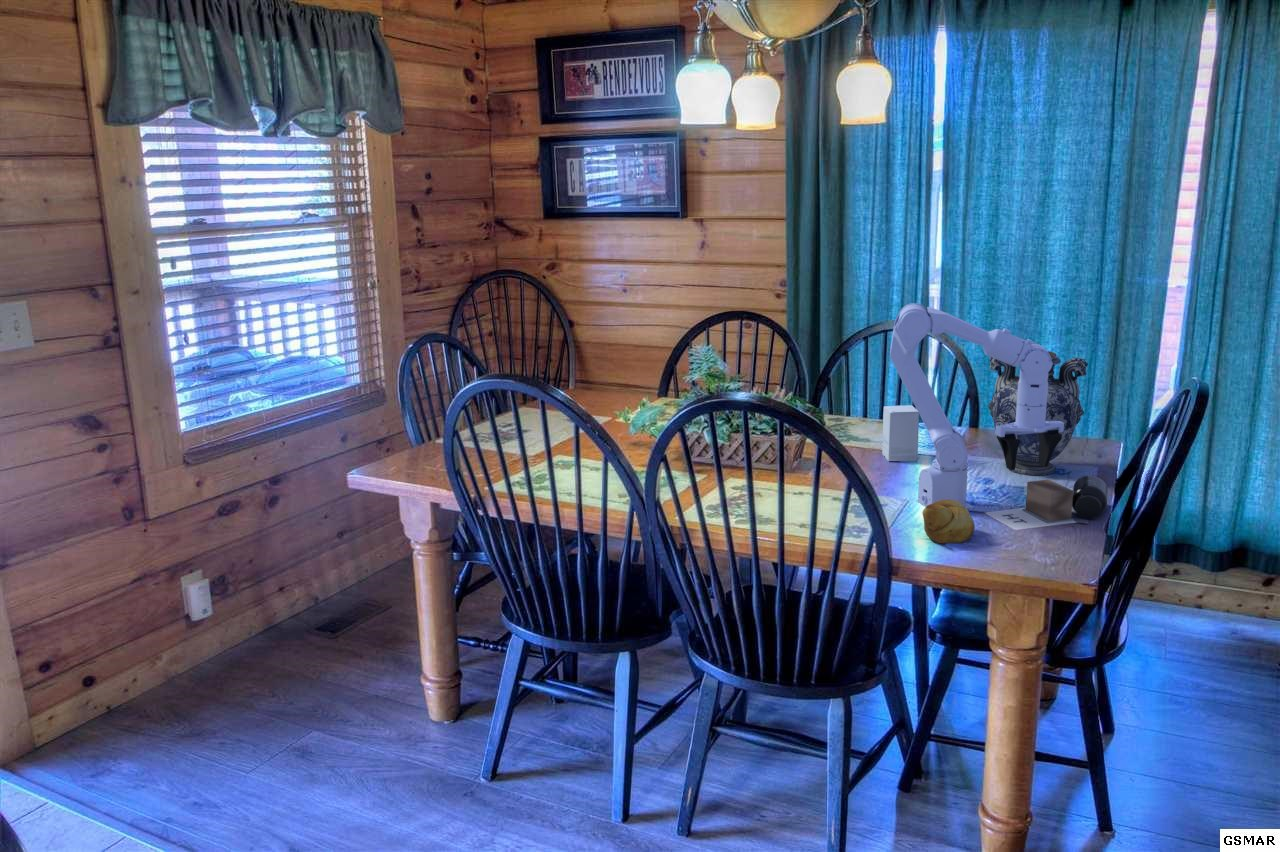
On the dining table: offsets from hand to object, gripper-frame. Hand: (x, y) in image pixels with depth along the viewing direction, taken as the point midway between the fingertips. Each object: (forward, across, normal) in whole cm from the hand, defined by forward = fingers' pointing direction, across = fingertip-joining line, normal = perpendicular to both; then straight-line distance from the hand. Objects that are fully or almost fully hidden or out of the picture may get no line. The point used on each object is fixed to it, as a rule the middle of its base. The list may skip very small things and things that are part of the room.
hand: (1026, 467), depth 214 cm
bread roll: (+10, -23, -9) cm, 26 cm away
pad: (+9, +2, -6) cm, 11 cm away
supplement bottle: (+6, +14, -2) cm, 16 cm away
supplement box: (+10, -6, +44) cm, 45 cm away
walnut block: (+8, +2, -6) cm, 11 cm away
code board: (+9, -2, -6) cm, 11 cm away
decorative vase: (+10, +18, +25) cm, 32 cm away
